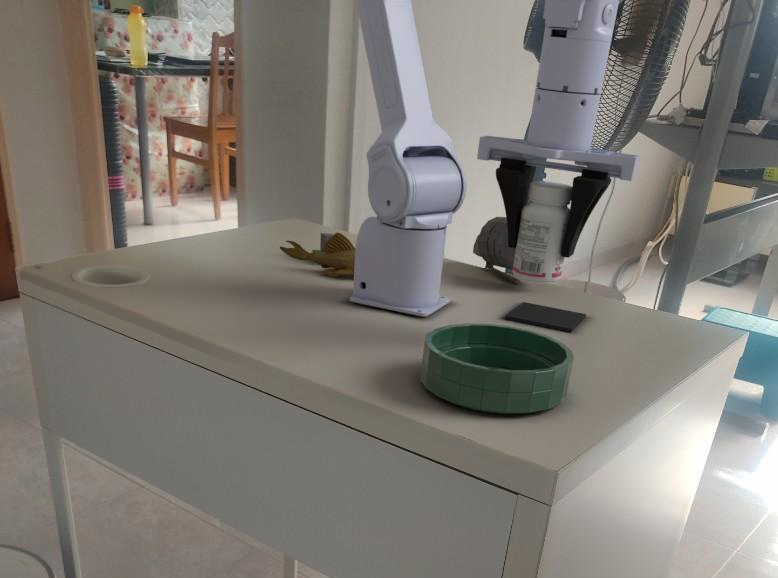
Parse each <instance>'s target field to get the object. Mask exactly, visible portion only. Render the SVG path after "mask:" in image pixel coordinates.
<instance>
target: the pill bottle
mask: <svg viewBox="0 0 778 578" xmlns="http://www.w3.org/2000/svg"><path fill="white" fill-rule="evenodd" d="M572 186H573V185H572ZM572 186H571V185H569V184H566V183H562V182H555V181H554V182H553V181H541V180H540V181H532V182H531V183H530V186H529V191H528V201H529V202H527V204H526V205H525V206H524V207H523V209H522V213H521V219H520V226H519V232H518V238H517V245H516V251H515V257H514V264H513V270H512V274H513V275H514V276H515V278H517V279H519V280H522V281H527V282H532V283H554V282H555V283H556V282H557V281H559V280H560V279H561V278H562V274H563V270H564V269H563V268H564V264H565V263H564V262H565V258H566V257H561V253H562V246H563V242H564V237H565V233H566V229H567V225H568V221H569V214H570V208H569V207H568V205H571V198H572Z"/></svg>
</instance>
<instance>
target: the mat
mask: <svg viewBox="0 0 778 578" xmlns="http://www.w3.org/2000/svg"><path fill="white" fill-rule="evenodd" d="M586 317H587V313H583V312H577V311H572V310H568V309H567V310H566V309H562V308H558V307H557V308H556V307H552V306H546V305H542V304H537V303H531V302H526V301H523V302H521V303H520V304H519V305H517V306H516V307H515V308H513V309H512V310H511V311H510V312H508V313H507V314H506V315H505V316H504V319H505V320H507V321H513V322H518V323H523V324H526V325H527V324H528V325H533V326H538V327H543V328H548V329H553V330H558V331H563V332H568V333H572V332H573V331H574V330H575V329H576V328H577V327H578V326H579V325H580V324H581V323H582V322H583V321H584V320H585V319H586Z"/></svg>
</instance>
